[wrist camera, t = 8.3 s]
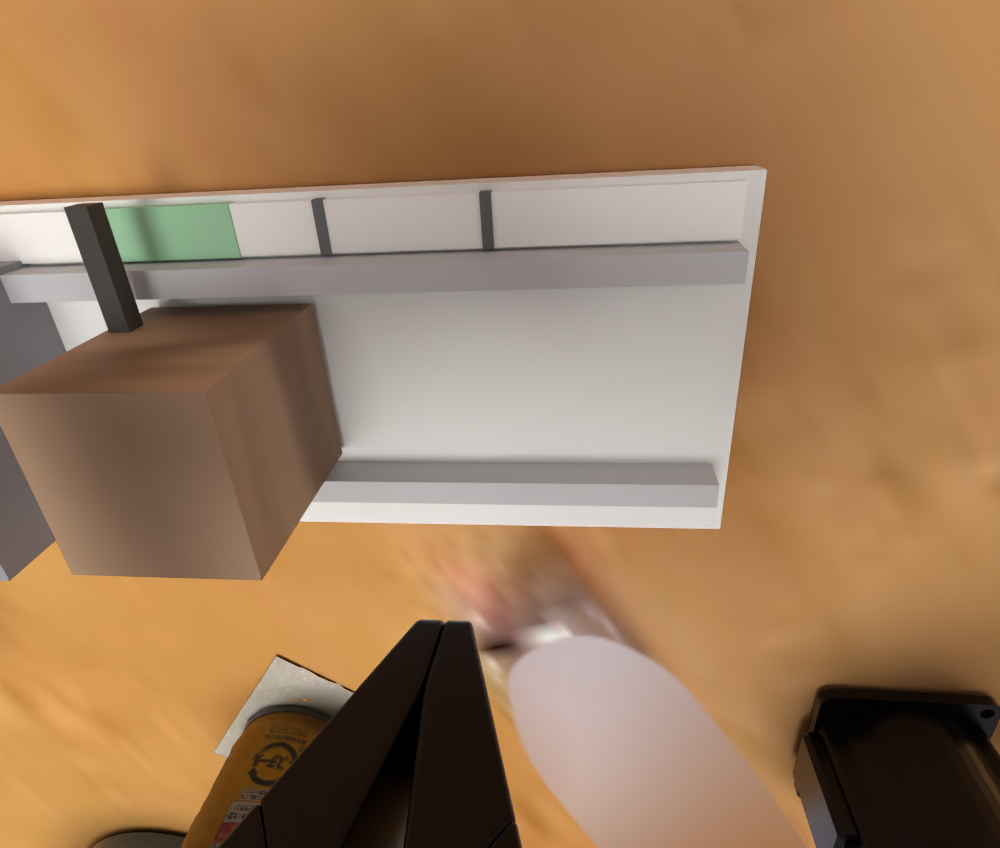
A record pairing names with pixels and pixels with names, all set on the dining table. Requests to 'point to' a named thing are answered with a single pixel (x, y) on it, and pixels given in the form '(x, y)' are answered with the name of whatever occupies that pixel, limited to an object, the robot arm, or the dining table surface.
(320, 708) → the condiment
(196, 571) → the brown cardboard cube
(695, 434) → the gauge base
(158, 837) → the canister
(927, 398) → the dining table surface
